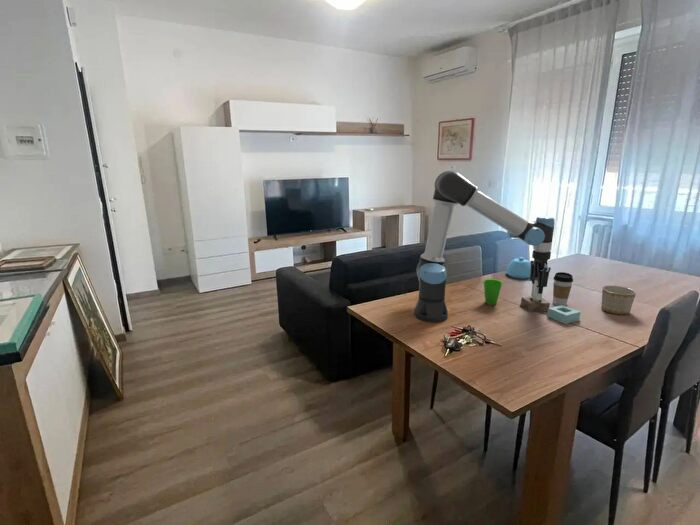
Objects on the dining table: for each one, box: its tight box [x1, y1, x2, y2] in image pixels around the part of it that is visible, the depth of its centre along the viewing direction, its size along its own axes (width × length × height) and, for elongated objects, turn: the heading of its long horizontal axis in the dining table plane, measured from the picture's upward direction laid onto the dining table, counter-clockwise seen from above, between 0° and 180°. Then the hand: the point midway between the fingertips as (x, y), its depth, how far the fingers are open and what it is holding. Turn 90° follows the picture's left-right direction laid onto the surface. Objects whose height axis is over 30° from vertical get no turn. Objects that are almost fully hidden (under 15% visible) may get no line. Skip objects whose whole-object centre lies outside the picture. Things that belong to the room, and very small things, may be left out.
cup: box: [482, 278, 504, 306], centre depth 185 cm, size 9×9×11 cm
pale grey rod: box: [532, 277, 539, 302], centre depth 177 cm, size 3×3×15 cm
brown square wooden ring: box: [520, 296, 551, 312], centre depth 179 cm, size 9×9×4 cm
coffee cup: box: [552, 271, 574, 306], centre depth 182 cm, size 8×8×15 cm
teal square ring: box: [546, 305, 581, 325], centre depth 167 cm, size 9×9×4 cm
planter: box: [600, 284, 637, 316], centre depth 173 cm, size 13×13×10 cm
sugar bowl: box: [506, 256, 531, 280], centre depth 227 cm, size 15×15×12 cm
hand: (536, 297), depth 178 cm, fingers closed on pale grey rod, 3 cm apart
